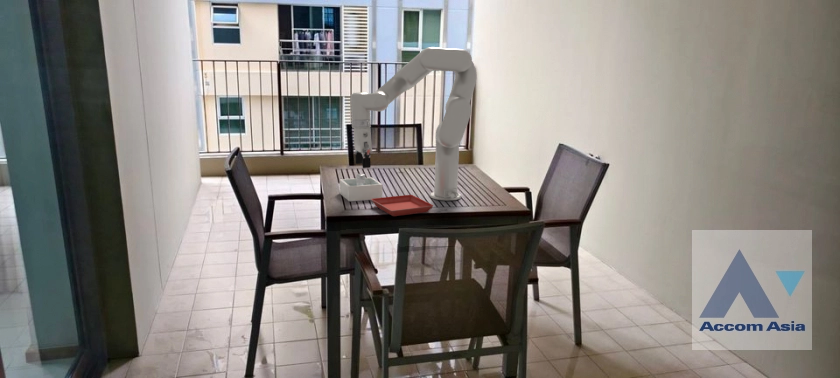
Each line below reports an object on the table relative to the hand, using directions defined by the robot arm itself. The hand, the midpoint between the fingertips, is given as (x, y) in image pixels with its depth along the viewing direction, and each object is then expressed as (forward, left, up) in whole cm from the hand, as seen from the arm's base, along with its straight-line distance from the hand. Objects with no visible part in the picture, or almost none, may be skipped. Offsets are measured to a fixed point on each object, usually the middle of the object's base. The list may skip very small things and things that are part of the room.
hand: (363, 165), depth 233 cm
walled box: (0, +1, -13) cm, 13 cm away
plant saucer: (-24, -8, -13) cm, 28 cm away
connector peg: (0, +1, -12) cm, 12 cm away
